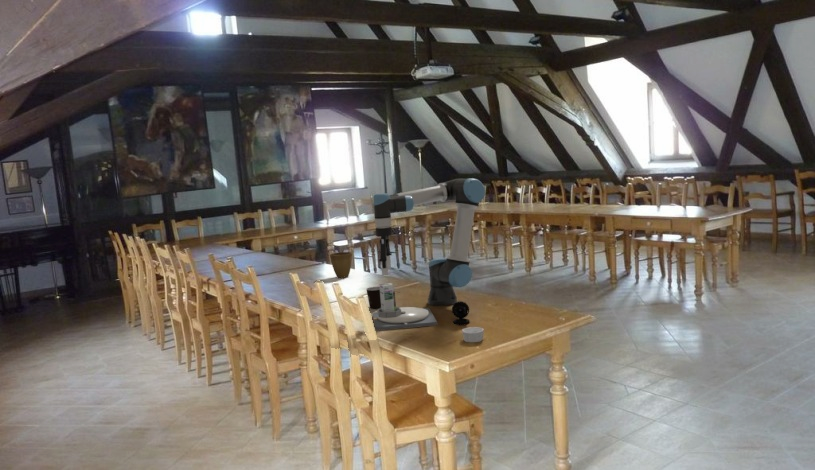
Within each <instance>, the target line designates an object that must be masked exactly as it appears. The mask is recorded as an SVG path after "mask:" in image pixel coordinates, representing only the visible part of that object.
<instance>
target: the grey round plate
mask: <svg viewBox="0 0 815 470" xmlns="http://www.w3.org/2000/svg"><path fill="white" fill-rule="evenodd" d="M423 308H424V307H417V306H416V307H415V306H412V307H411V306H404V307H399V306H398V307H397V306H396V311H394V312H382V311H381V308H379V309H376V312H377V314H378V320H380V321H382V322H386V323H409V322H415V321H420V320H423V319H425V318H427V317H428V316H429V312H428V310H426V309H423Z"/></svg>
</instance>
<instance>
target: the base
mask: <svg viewBox="0 0 815 470" xmlns="http://www.w3.org/2000/svg"><path fill="white" fill-rule="evenodd" d="M422 308H423V309H426V310H428V312H429V316H428V317H427V318H425V319H423V320H420V321H415V322H409V323H386V322H382V321H380V320H378V314H377V311H375V312H372V321H373V326H374V325H375V327H374V330H375V329H376V331H386V330H387V331H388V330H396V329H397V330H399V329H409V328H420V327H422V328H423V327H430V326H431V327H432V326H433V327H434V326H438V321H437V320H436V318H435V316H434V314H433V312H432V311H431V309H430V307H426V308H425V307H422Z"/></svg>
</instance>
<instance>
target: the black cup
mask: <svg viewBox="0 0 815 470" xmlns="http://www.w3.org/2000/svg"><path fill="white" fill-rule="evenodd" d="M366 294H367V299H368V305H369V309H371V310H378V309H380V308H381V298H380V286H372V287H370V286H369V287H368V288H366Z"/></svg>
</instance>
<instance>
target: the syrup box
mask: <svg viewBox="0 0 815 470" xmlns="http://www.w3.org/2000/svg"><path fill="white" fill-rule="evenodd" d="M378 287H380V298H381V311H382V312H394V311H396V307H397V302H396V287H395V284H394V283H393V282H388V283H380V284H379V286H378Z"/></svg>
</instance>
